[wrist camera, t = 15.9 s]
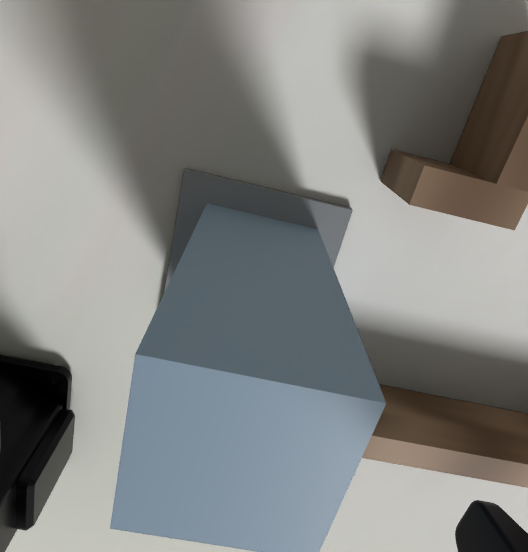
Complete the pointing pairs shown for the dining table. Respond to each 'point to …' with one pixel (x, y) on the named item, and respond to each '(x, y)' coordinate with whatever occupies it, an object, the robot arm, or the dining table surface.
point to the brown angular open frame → (484, 208)
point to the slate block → (246, 393)
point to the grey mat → (252, 210)
